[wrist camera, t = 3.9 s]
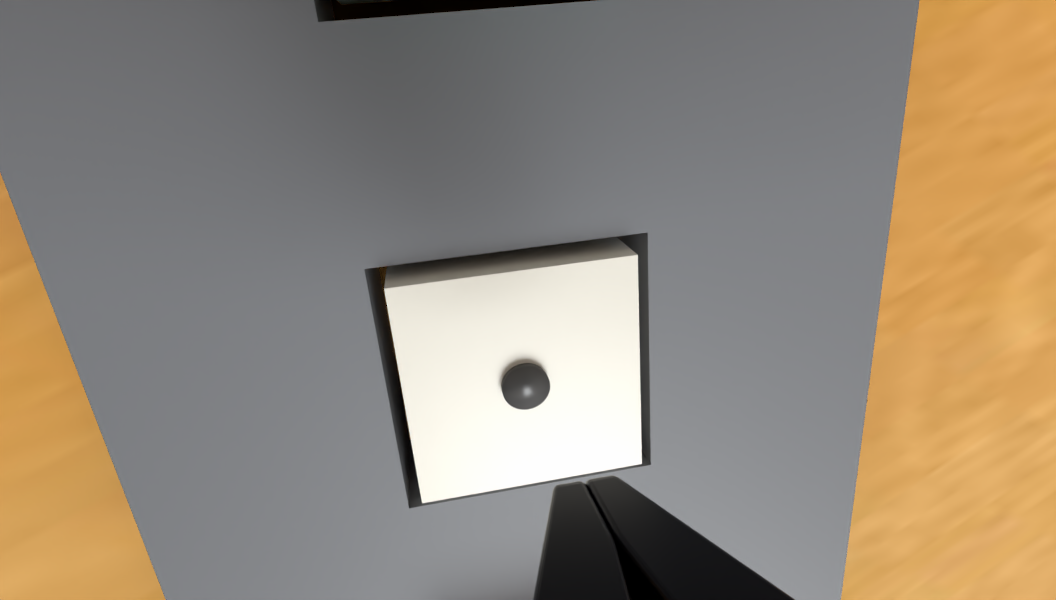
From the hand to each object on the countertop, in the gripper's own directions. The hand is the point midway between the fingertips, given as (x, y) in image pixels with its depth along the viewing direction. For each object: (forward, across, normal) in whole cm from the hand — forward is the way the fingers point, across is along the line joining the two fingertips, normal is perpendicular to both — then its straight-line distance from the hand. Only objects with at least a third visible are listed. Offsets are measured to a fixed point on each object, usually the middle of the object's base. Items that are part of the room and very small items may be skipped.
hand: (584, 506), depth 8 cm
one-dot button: (+6, 0, 0) cm, 6 cm away
